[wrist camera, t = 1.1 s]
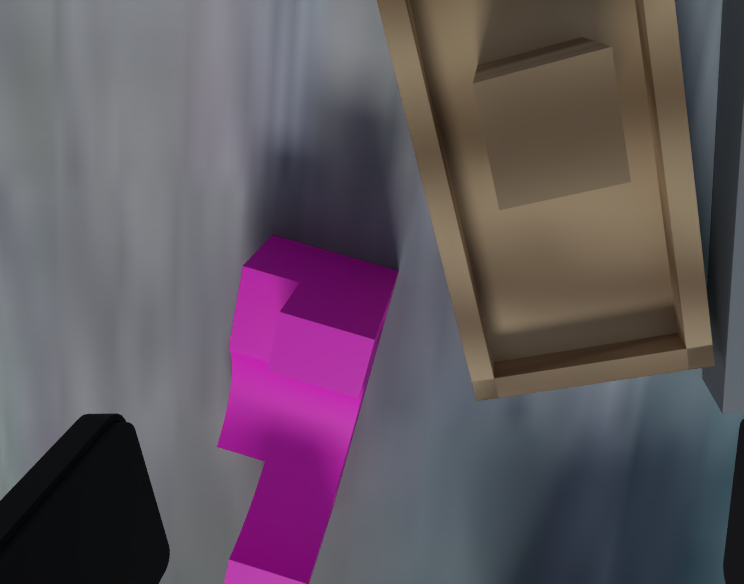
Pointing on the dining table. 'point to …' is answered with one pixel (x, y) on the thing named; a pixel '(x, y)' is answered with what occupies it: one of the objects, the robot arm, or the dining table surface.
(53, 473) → the robot arm
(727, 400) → the block
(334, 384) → the toy block
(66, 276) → the dining table surface
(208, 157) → the dining table surface
